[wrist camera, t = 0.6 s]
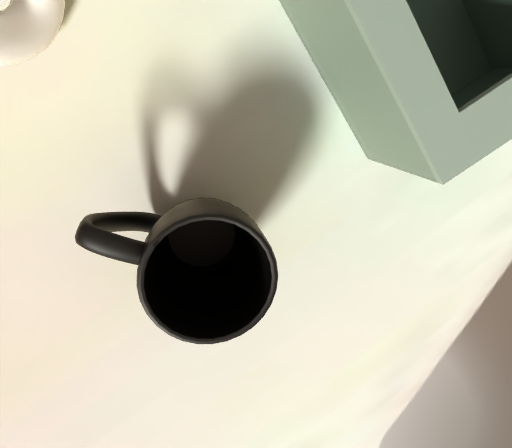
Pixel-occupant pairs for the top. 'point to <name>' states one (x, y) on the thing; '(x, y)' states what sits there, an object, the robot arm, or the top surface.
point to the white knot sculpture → (28, 28)
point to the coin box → (415, 76)
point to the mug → (192, 266)
